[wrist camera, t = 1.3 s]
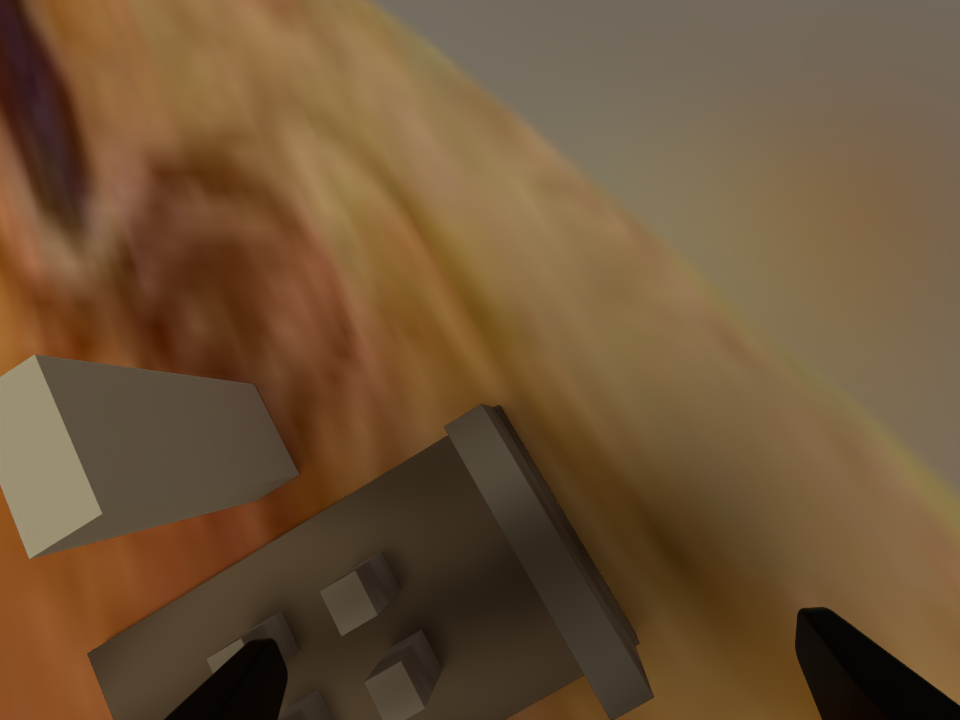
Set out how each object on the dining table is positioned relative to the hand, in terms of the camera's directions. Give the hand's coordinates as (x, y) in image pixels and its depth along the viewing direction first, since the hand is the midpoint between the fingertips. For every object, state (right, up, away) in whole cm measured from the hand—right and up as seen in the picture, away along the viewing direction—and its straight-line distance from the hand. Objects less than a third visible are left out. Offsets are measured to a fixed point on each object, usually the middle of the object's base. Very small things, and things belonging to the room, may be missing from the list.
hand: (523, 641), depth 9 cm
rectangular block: (-12, +1, +16) cm, 20 cm away
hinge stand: (-6, -8, +14) cm, 18 cm away
